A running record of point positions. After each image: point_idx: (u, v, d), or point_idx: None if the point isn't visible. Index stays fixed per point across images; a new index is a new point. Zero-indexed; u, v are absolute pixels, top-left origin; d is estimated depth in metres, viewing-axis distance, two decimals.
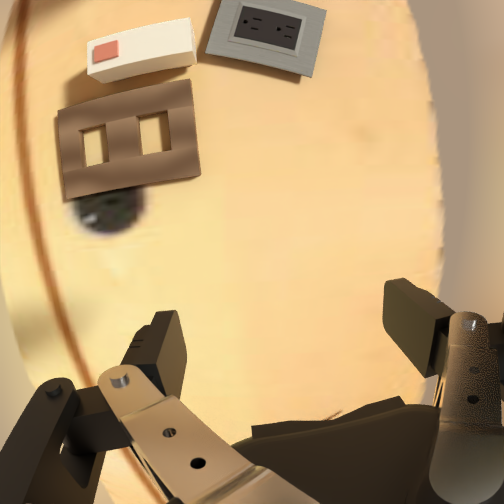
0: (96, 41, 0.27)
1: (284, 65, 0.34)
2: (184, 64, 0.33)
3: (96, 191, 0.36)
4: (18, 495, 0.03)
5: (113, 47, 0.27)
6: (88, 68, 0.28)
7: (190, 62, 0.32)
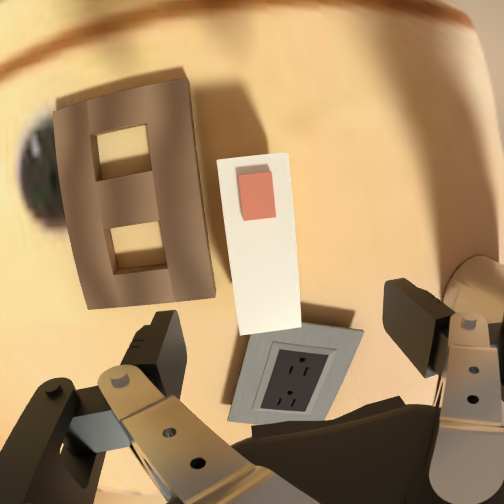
0: (284, 171, 0.20)
1: (238, 398, 0.30)
2: None
3: (58, 162, 0.23)
4: (18, 495, 0.03)
5: (261, 211, 0.20)
6: (229, 160, 0.19)
7: None
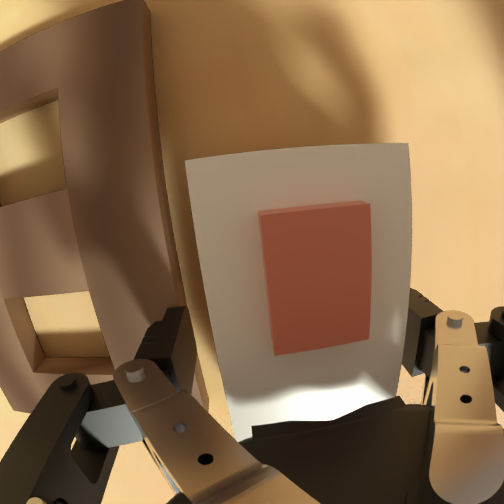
0: (397, 200, 0.06)
1: None
2: None
3: None
4: (25, 488, 0.03)
5: (330, 328, 0.06)
6: (227, 162, 0.06)
7: None
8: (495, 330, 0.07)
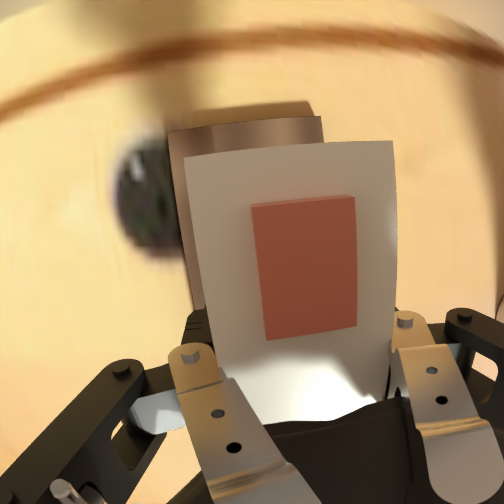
0: (382, 195, 0.06)
1: None
2: None
3: (176, 190, 0.24)
4: (54, 469, 0.04)
5: (318, 315, 0.07)
6: (222, 159, 0.06)
7: None
8: (453, 334, 0.07)
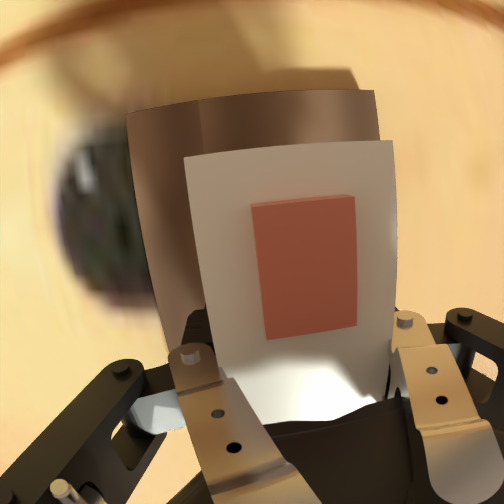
0: (382, 194, 0.06)
1: None
2: None
3: (141, 208, 0.15)
4: (54, 469, 0.04)
5: (318, 314, 0.07)
6: (223, 159, 0.06)
7: None
8: (453, 334, 0.07)
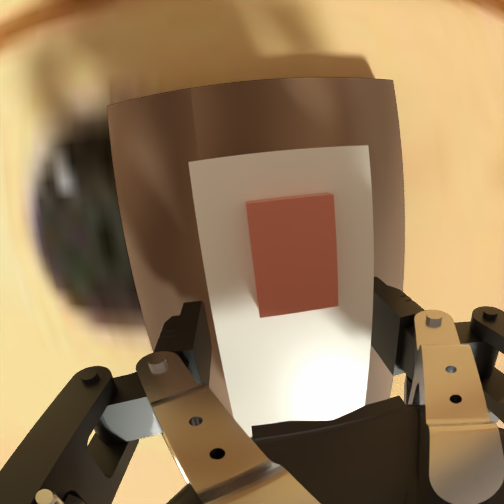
0: (359, 192, 0.08)
1: None
2: None
3: (124, 215, 0.12)
4: (37, 480, 0.04)
5: (304, 295, 0.08)
6: (221, 163, 0.07)
7: None
8: (478, 331, 0.07)
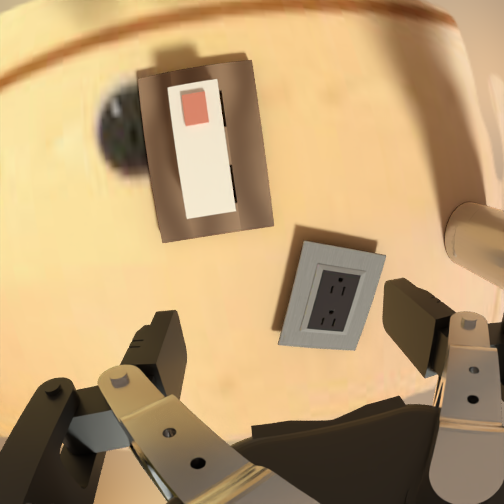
0: (214, 91, 0.25)
1: (289, 320, 0.37)
2: None
3: (143, 119, 0.30)
4: (18, 495, 0.03)
5: (198, 118, 0.25)
6: (176, 87, 0.25)
7: None
8: None
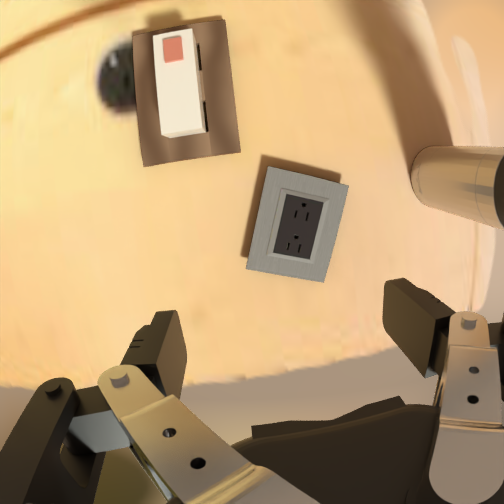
0: (189, 37, 0.29)
1: (255, 242, 0.40)
2: None
3: (135, 66, 0.33)
4: (18, 495, 0.03)
5: (174, 56, 0.29)
6: (159, 35, 0.28)
7: None
8: None
